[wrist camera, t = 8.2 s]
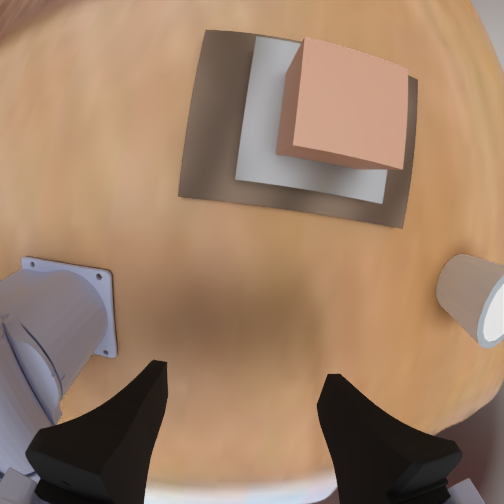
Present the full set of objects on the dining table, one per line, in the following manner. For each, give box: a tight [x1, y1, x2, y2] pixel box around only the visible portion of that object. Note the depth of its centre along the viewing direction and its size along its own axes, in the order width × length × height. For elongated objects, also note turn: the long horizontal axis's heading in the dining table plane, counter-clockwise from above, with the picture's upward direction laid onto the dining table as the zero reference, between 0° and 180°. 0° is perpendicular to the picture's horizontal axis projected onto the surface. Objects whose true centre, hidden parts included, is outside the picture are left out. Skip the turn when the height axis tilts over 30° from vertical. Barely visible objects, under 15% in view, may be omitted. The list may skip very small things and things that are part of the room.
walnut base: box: [178, 30, 418, 229], centre depth 17 cm, size 16×12×4 cm
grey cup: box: [436, 254, 504, 349], centre depth 19 cm, size 7×7×7 cm
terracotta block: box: [276, 37, 408, 170], centre depth 13 cm, size 5×5×5 cm
